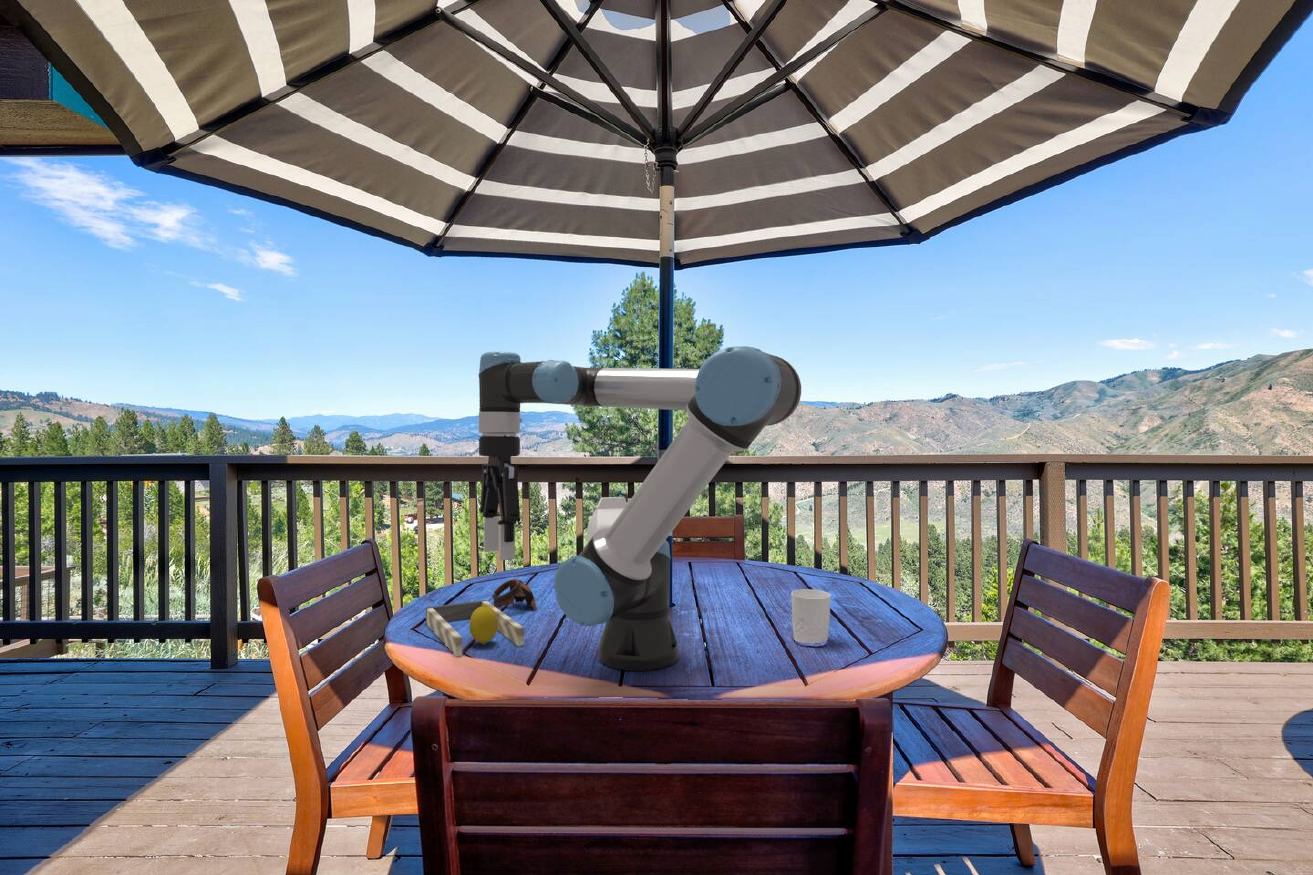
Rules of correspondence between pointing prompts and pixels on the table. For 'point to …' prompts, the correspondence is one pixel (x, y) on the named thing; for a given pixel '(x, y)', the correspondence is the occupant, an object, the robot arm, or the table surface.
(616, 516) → the milk
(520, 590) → the brown open ring
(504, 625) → the channel
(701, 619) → the table surface
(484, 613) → the lemon
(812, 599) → the white cup
